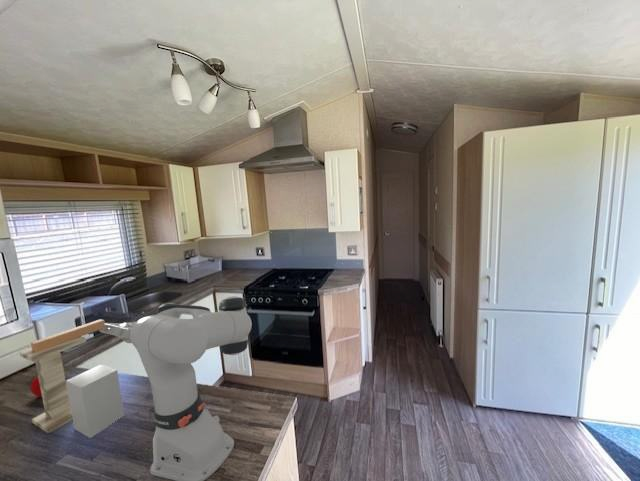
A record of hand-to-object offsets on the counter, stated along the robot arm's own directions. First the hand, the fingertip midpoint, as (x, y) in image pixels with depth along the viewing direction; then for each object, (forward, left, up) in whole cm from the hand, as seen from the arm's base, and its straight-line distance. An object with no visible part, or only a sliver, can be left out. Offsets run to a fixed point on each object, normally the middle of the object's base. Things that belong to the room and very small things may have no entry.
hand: (100, 328), depth 108 cm
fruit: (+22, +11, -26) cm, 36 cm away
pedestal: (-18, +12, -25) cm, 33 cm away
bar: (-1, +9, +1) cm, 9 cm away
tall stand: (-1, +14, -25) cm, 29 cm away
